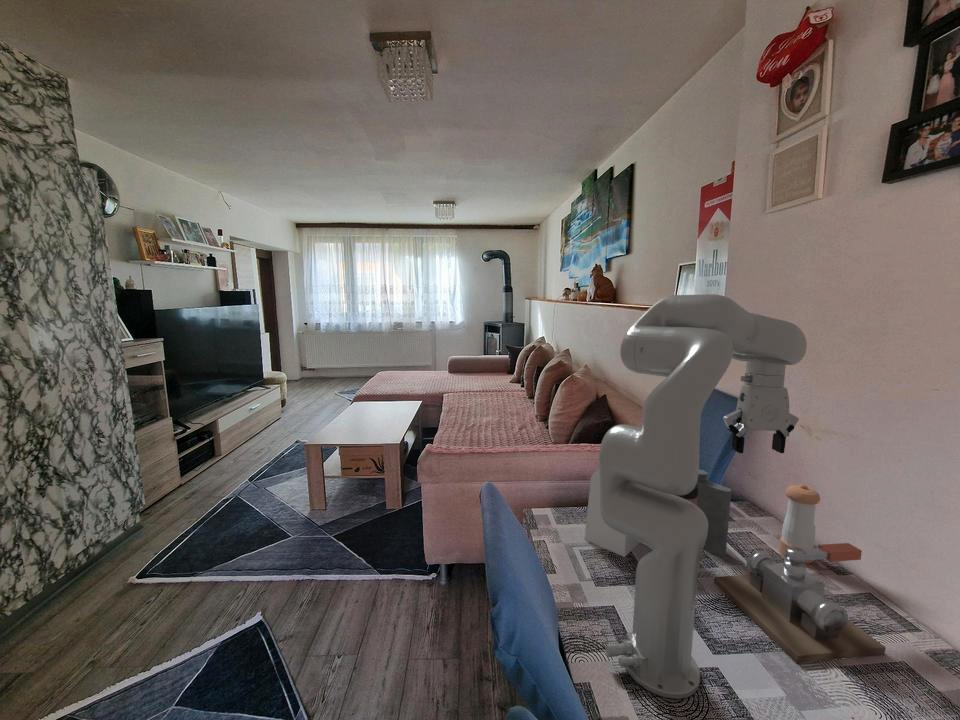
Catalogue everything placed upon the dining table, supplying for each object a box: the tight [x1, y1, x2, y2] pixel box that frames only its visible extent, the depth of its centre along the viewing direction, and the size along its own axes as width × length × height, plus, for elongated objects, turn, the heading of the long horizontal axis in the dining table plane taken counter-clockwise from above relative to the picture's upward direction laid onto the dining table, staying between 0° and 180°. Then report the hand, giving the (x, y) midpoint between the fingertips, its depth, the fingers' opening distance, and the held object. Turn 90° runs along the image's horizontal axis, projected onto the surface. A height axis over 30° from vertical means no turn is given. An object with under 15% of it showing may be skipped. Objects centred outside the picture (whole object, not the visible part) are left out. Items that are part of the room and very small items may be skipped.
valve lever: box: [785, 542, 863, 565], centre depth 84 cm, size 15×3×2 cm, turn 97°
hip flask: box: [696, 468, 732, 557], centre depth 112 cm, size 16×4×20 cm, turn 28°
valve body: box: [746, 549, 849, 640], centre depth 85 cm, size 7×18×10 cm, turn 7°
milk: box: [584, 468, 641, 558], centre depth 112 cm, size 12×12×26 cm
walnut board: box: [713, 573, 886, 664], centre depth 85 cm, size 18×22×2 cm
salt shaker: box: [778, 483, 821, 564], centre depth 105 cm, size 7×7×19 cm
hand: (757, 451), depth 98 cm, fingers open, 9 cm apart
